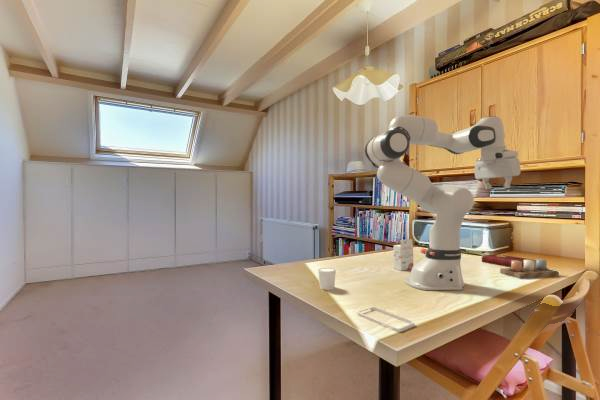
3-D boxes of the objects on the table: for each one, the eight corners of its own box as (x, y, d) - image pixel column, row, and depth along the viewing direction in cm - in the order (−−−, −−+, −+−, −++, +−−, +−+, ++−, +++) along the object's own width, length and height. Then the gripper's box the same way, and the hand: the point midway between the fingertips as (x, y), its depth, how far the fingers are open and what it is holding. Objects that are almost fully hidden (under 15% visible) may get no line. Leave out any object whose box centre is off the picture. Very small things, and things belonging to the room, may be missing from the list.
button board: (519, 278, 128) (519, 273, 128) (500, 272, 138) (500, 268, 138) (558, 276, 131) (558, 271, 131) (537, 270, 141) (537, 266, 141)
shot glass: (321, 291, 113) (321, 272, 113) (315, 286, 120) (315, 268, 120) (338, 289, 115) (338, 271, 115) (332, 284, 122) (331, 267, 122)
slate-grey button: (541, 270, 134) (541, 260, 134) (533, 269, 137) (533, 259, 137) (548, 270, 134) (548, 260, 134) (540, 268, 138) (540, 258, 138)
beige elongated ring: (415, 327, 82) (373, 310, 94) (415, 322, 82) (373, 306, 94) (398, 334, 78) (356, 316, 90) (398, 329, 78) (356, 311, 90)
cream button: (529, 271, 132) (529, 261, 132) (521, 269, 136) (521, 259, 136) (536, 271, 133) (536, 261, 133) (528, 269, 137) (528, 259, 137)
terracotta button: (516, 272, 131) (516, 262, 131) (509, 270, 135) (508, 260, 135) (523, 272, 132) (523, 261, 132) (516, 270, 136) (516, 260, 136)
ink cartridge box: (405, 266, 152) (405, 237, 152) (413, 268, 148) (413, 238, 148) (393, 268, 148) (393, 238, 148) (400, 270, 144) (400, 240, 144)
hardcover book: (524, 271, 143) (524, 262, 143) (481, 262, 162) (481, 255, 162) (538, 268, 148) (538, 259, 148) (495, 260, 167) (495, 253, 167)
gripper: (469, 159, 136) (472, 190, 136) (507, 152, 116) (511, 188, 116) (481, 158, 137) (484, 188, 137) (521, 151, 117) (525, 186, 117)
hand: (497, 188), depth 126 cm, fingers open, 8 cm apart
